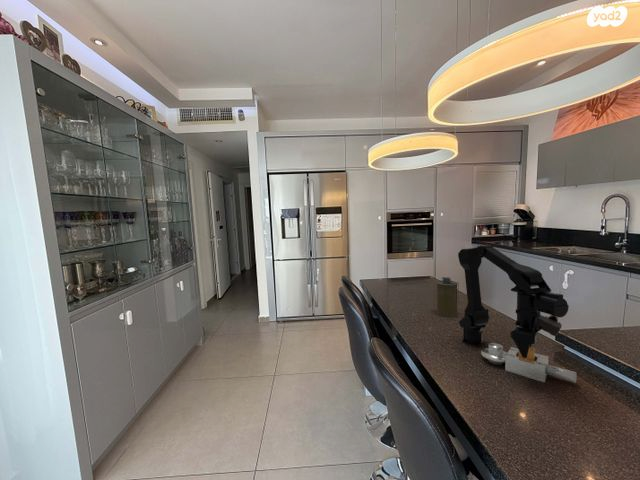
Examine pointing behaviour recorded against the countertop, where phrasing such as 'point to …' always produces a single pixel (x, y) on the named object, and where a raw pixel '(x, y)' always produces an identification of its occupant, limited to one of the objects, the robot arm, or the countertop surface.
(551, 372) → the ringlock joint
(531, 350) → the wedge
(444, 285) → the canister
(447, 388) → the countertop surface
